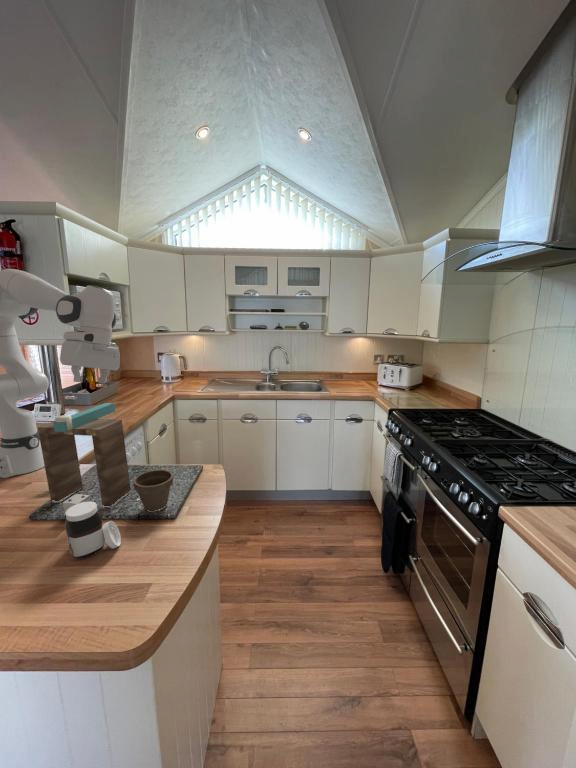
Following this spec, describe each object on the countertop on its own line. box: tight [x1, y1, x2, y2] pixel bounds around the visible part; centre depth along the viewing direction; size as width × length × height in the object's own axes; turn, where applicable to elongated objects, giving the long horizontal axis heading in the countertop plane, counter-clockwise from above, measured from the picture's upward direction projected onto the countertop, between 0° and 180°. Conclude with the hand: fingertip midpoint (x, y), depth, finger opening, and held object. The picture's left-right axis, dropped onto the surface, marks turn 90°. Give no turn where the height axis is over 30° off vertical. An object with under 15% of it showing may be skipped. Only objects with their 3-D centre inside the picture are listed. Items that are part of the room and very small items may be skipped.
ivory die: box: [62, 493, 92, 514], centre depth 103 cm, size 5×5×5 cm
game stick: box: [52, 402, 116, 432], centre depth 110 cm, size 4×22×4 cm, turn 170°
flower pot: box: [133, 469, 174, 511], centre depth 105 cm, size 12×11×10 cm
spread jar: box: [64, 501, 122, 560], centre depth 86 cm, size 12×11×12 cm
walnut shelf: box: [37, 418, 132, 506], centre depth 110 cm, size 22×10×26 cm, turn 80°
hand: (90, 382), depth 104 cm, fingers open, 8 cm apart
